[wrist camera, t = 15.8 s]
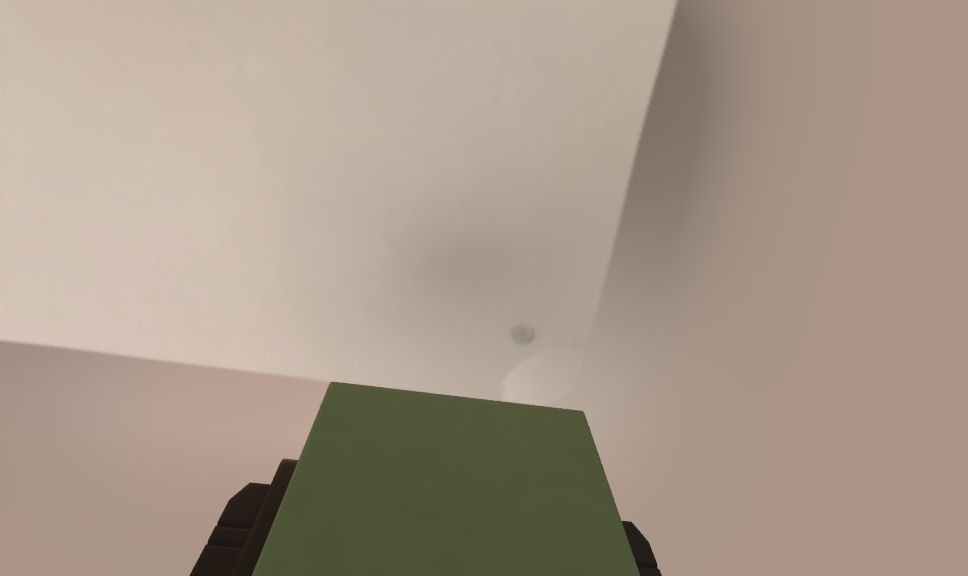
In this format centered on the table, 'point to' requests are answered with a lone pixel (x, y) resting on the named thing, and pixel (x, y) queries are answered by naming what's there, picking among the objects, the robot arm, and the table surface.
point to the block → (445, 492)
